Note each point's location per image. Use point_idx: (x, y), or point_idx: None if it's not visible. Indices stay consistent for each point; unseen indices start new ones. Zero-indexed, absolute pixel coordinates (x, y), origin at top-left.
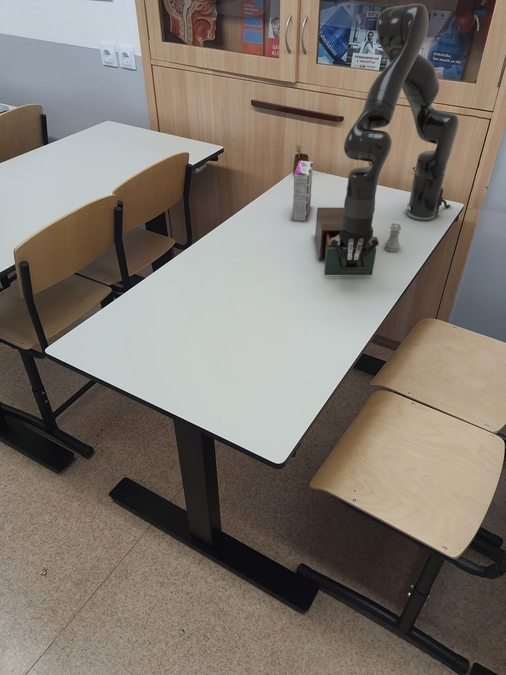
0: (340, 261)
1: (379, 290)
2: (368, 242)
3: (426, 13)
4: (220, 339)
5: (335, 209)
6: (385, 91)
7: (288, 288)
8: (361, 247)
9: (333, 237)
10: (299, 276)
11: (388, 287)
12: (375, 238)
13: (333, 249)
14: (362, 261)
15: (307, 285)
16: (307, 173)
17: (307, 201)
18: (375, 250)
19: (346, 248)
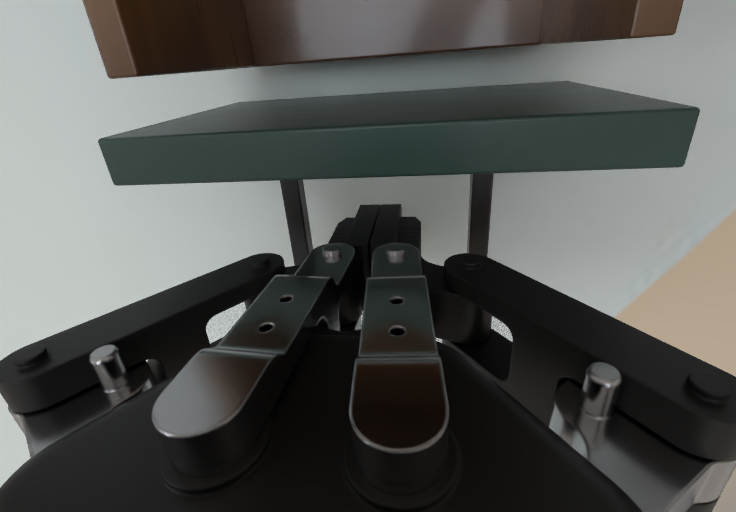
0: (293, 206)
1: (562, 244)
2: (551, 421)
3: None
4: (16, 465)
5: None
6: None
7: (98, 233)
8: (494, 125)
9: (17, 400)
10: (113, 117)
11: (631, 214)
12: (708, 473)
13: (176, 181)
14: (481, 201)
15: (177, 206)
16: None
17: None
18: (664, 163)
19: (308, 163)
